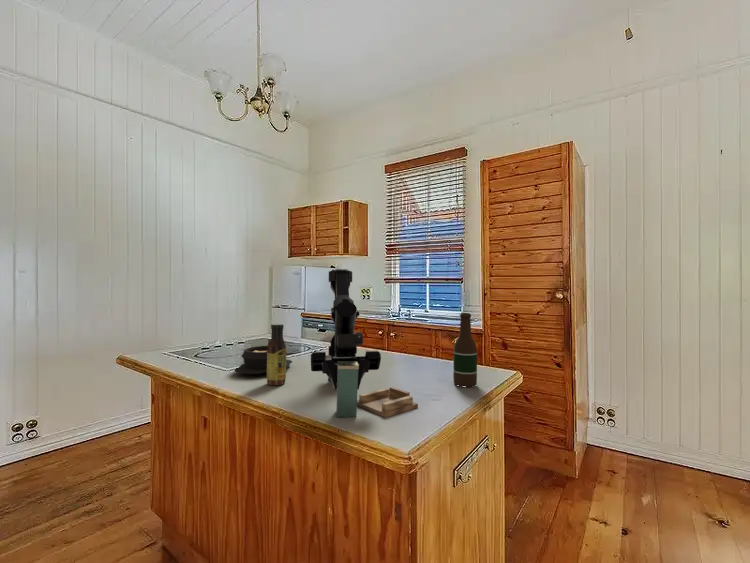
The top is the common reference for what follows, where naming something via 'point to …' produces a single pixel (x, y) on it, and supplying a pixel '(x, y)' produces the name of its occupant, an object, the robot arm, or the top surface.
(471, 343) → the beer bottle
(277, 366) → the sauce bottle
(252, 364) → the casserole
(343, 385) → the tea tin
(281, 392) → the top surface
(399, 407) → the wooden square frame
